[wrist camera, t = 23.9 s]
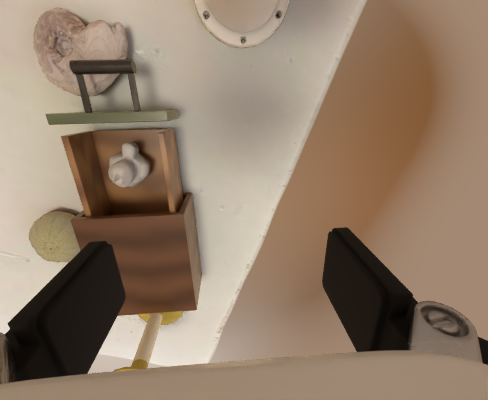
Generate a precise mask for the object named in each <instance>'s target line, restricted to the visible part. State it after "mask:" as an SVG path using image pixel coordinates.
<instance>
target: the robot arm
mask: <svg viewBox="0 0 488 400" xmlns="http://www.w3.org/2000/svg"><path fill="white" fill-rule="evenodd" d="M194 3H195V6H196V9H197V12H198V14H199V16H200V19H201V20H202V22H203V24H204V25H205V27H206V28H207V29H208V31H209V32H210V33H211V34H212V35H213V36H214V37H215V38H217V39H218V40H219V41H221V42H223V43H225V44H227V45H229V46H233V47H236V48H247V47H252V46H255V45H258V44H260V43H262V42H263V41H265V40H266V39H268V38H269V37H270V36H271V35H272V34H273V33H274V32H275V31H276V29H277V28H278V27H279V25H280V24H281V22H282V20H283V18H284V16H285V13H286V11H287V8H288V5H289V0H194ZM206 15H208V19H205V16H206ZM276 15H279V18H276ZM242 39H244V41H245V42H244V43H242V42H241V40H242ZM322 283H323V287H324V290H325V292H326V294H327V295H328V297H329V299H330V301H331V303H332V305H333V307H334V309H335V311H336V313H337V314H338V316H339V318H340V320H341V322H342V324H343V326H344V328H345V330H346V332H347V334H348V336H349V337H350V339H351V341H352V343H353V345H354V347H355V349H356V351H357V352H351V353H336V354H335V353H334V354H322V355H308V356H296V357H282V358H270V359H256V360H244V361H231V362H220V363H207V364H195V365H183V366H171V367H160V368H148V369H137V370H126V371H114V372H103V373H92V374H87V373H88V371H89V369H90V367H91V365H92V363H93V362H94V360H95V358H96V356H97V354H98V352H99V350H100V348H101V346H102V344H103V342H104V340H105V339H106V337H107V335H108V333H109V331H110V329H111V327H112V325H113V323H114V321H115V319H116V317H117V316H118V314H119V312H120V310H121V308H122V306H123V304H124V302H125V298H126V294H125V290H124V286H123V282H122V279H121V275H120V272H119V268H118V264H117V261H116V257H115V254H114V250H113V247H112V245H111V244H108V243H107V241H93V242H89V243H88V244H87V245H86V246H85V247H84V248H83V249H82V250H81V251H80V252H79V253H78V254H77V255H76V256H75V257H74V258H73V259H72V260H71V261H70V262H69V263H68V264H67V265H66V266H65V267H64V268H63V269H62V270H61V271H60V272H59V273H58V274H57V275H56V276H55V277H54V278H53V279H52V280H51V281H50V282H49V283H48V284H47V285H46V286H45V287H44V288H43V289H42V290H41V291H40V292H39V293H38V294H37V295H36V296H35V297H34V298H33V299H32V300H31V301H30V302H29V303H28V304H27V305H26V306H25V307H24V308H23V309H22V310H21V311H20V312H19V313H18V314H17V315H16V316H15V317H14V318H13V319H12V320H11V321H10V322H9V323H8V325H9V327H10V330H9V331H8V332H7V333H6V334H3V333H0V400H488V341H487V340H484V339H482V338H480V337H478V336H477V331H476V329H475V327H474V325H473V324H472V323H471V322H470V320H469V319H468V318H466V317H465V316H464V315H463V314H461V313H460V312H458V311H456V310H455V309H453V308H451V307H449V306H447V305H444V304H441V303H437V302H433V301H422V302H419V303H418V302H417V301H416V300H415V299H414V298H413V294H412V293H411V292H410V291H409V290H408V289H407V288H406V287H405V286H404V285H403V284H402V283H401V282H400V281H399V280H398V279H397V278H396V277H395V276H394V275H393V274H392V273H391V272H390V271H389V269H387V267H385V265H384V264H383V263H382V262H381V261H380V260H379V259H378V258H377V257H376V256H375V255H374V254H373V253H372V252H371V251H370V250H369V249H368V248H367V247H366V246H365V245H364V244H363V243H362V242H361V241H360V240H359V239H358V238H357V237H356V236H355V235H354V234H353V233H352V232H351V231H350V230H349V229H348V228H334V229H333V230H332V232H329V233H328V240H327V248H326V255H325V263H324V272H323V280H322Z"/></svg>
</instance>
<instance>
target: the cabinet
mask: <svg viewBox="0 0 488 400" xmlns="http://www.w3.org/2000/svg"><path fill="white" fill-rule="evenodd" d="M70 221H71V224H72V227H73V230H74V233H75V236H76V239H77V242H78V245H79V248H80V251H81V250H82V249H83V248H84V247H85V246H86V245H87V244H88V243H89V242H93V241H107V243H108V244H111V245H112V247H113V250H114V254H115V257H116V261H117V264H118V268H119V272H120V275H121V279H122V282H123V286H124V290H125V294H126V298H125V302H124V304H123V306H122V308H121V310H120V312H119V314H118V316H120V315H134V314H148V313H162V312H176V311H190V310H197V304H198V297H199V291H200V284H201V277H202V272H201V263H200V255H199V246H198V237H197V229H196V220H195V211H194V203H193V194H192V193H183V204H182V206H181V208H180V210H179V212H174V213H154V214H134V215H114V216H94V217H86V215H85V212H84V211H82V212H81V213H80V214H78V215H77V216H75V217H74V218H73V219H71V220H70Z"/></svg>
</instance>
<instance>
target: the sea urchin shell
mask: <svg viewBox="0 0 488 400" xmlns="http://www.w3.org/2000/svg"><path fill="white" fill-rule="evenodd" d="M74 217H75V216H74V215H72V214H71V213H66V212H62V211H53V212H51V213H48V214H45V215H43V216H42V217H41V218H40V219H38V220H37V221H35V222H34V224H33V226H32V228H31V229H30V232H29V240H30V242H31V244H32V247H33V248H34V249H35V251H36V252H37V254H39V255H40V256H41V257H42V258H43V259H45V260H47V261H53V262H57V263H58V262H69V261H71V260H72V259H73V258H74V257H75V256H76V255H77V254H78V253H79V252H80V248H79V245H78V242H77V239H76V236H75V233H74V230H73V227H72V224H71V221H70V220H71V219H73V218H74Z"/></svg>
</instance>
